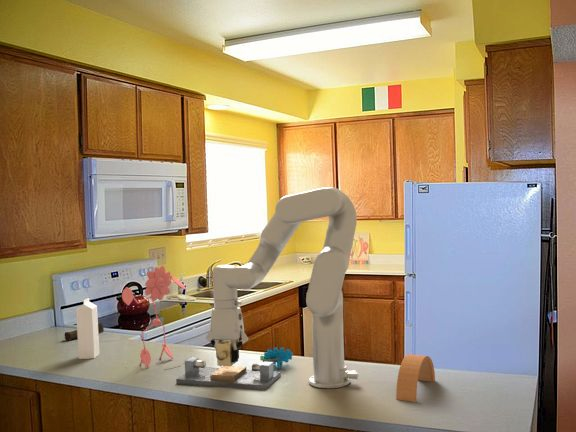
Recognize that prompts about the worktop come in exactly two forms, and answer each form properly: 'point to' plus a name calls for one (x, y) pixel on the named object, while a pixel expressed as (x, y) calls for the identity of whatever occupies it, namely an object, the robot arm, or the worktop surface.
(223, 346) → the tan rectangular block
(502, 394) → the worktop surface
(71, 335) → the hand tool
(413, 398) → the arch
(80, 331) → the milk
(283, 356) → the gear
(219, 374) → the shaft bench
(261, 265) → the robot arm
